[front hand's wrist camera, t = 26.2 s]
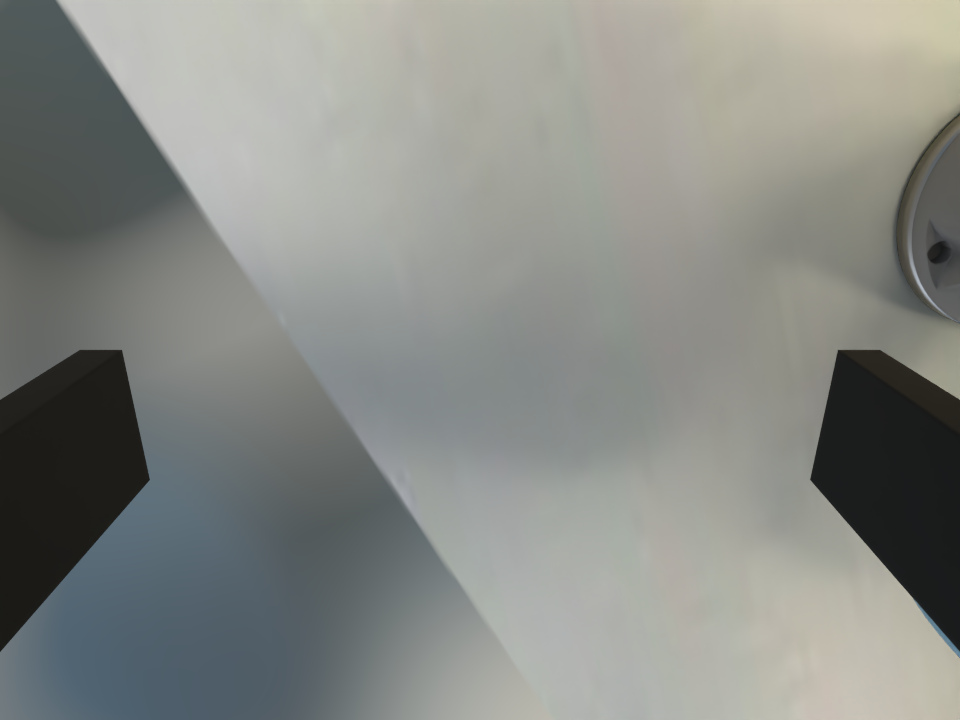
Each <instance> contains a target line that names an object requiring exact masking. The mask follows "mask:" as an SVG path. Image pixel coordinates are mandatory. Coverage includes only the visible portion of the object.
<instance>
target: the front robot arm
mask: <svg viewBox="0 0 960 720" xmlns="http://www.w3.org/2000/svg"><path fill="white" fill-rule="evenodd" d="M897 248H898V254H899V260H900V263H901V267H902V270H903V272H904V275H905V277H906V279H907V281H908V283H909V284H910V286H911V288H912V289H913V291H914V292H915V293H916V294H917V296H918V297H919V298H920V299H921V300H922V301H923V302H924V303H925V304H926V305H928V306H929V307H930V308H931V309H933V310H934V311H936V312H938V313H939V314H941V315H943V316H945V317H947V318H949V319H951V320H954V321H956V322H958V323H960V115H959V116H958V117H957V118H955V119H954V120H953V121H952V122H951V123H950V124H949V125H948V126H947V127H946V128H945V129H944V130H943V131H942V132H941V134H940V135H939V136H938V137H937V138H936V139H935V140H934V142H933V143H932V144H931V146H930V147H929V148H928V150H927V151H926V152H925V154H924V155H923V157H922V159H921V160H920V162H919V163H918V165H917V167H916V169H915V171H914V172H913V174H912V176H911V178H910V181H909V183H908V185H907V188H906V190H905V193H904V196H903V200H902V203H901V207H900V211H899V217H898V224H897ZM149 480H150V479H149V474H148V469H147V465H146V460H145V456H144V451H143V446H142V442H141V437H140V432H139V428H138V423H137V418H136V414H135V409H134V404H133V400H132V395H131V390H130V386H129V381H128V376H127V372H126V367H125V362H124V358H123V353H122V350H79V351H78V352H76V353H75V354H73V355H71V356H70V357H68V358H67V359H65V360H63V361H62V362H60V363H59V364H57V365H55V366H54V367H52V368H51V369H49V370H47V371H46V372H44V373H43V374H41V375H39V376H38V377H36V378H35V379H33V380H31V381H30V382H28V383H27V384H25V385H23V386H22V387H20V388H19V389H17V390H15V391H14V392H12V393H11V394H9V395H7V396H6V397H4V398H3V399H1V400H0V651H1V650H2V649H3V648H4V647H5V646H6V644H7V643H8V642H9V641H10V640H11V639H12V638H13V636H14V635H15V634H16V633H17V632H18V631H19V630H20V628H21V627H22V626H23V625H24V624H25V623H26V622H27V620H28V619H29V618H30V617H31V616H32V615H33V613H34V612H35V611H36V610H37V609H38V608H39V607H40V605H41V604H42V603H43V602H44V601H45V600H46V599H47V597H48V596H49V595H50V594H51V593H52V592H53V590H54V589H55V588H56V587H57V586H58V585H59V584H60V582H61V581H62V580H63V579H64V578H65V577H66V576H67V574H68V573H69V572H70V571H71V570H72V569H73V567H74V566H75V565H76V564H77V563H78V562H79V561H80V559H81V558H82V557H83V556H84V555H85V554H86V553H87V551H88V550H89V549H90V548H91V547H92V546H93V544H94V543H95V542H96V541H97V540H98V539H99V538H100V536H101V535H102V534H103V533H104V532H105V531H106V530H107V528H108V527H109V526H110V525H111V524H112V523H113V521H114V520H115V519H116V518H117V517H118V516H119V515H120V513H121V512H122V511H123V510H124V509H125V508H126V507H127V505H128V504H129V503H130V502H131V501H132V500H133V498H134V497H135V496H136V495H137V494H138V493H139V492H140V490H141V489H142V488H143V487H144V486H145V485H146V484H147V482H148V481H149ZM810 480H811V481H812V482H813V484H814V485H815V486H816V487H817V488H818V489H819V490H820V492H821V493H822V494H823V495H824V496H825V497H826V498H827V500H828V501H829V502H830V503H831V504H832V505H833V507H834V508H835V509H836V510H837V511H838V512H839V513H840V515H841V516H842V517H843V518H844V519H845V520H846V521H847V523H848V524H849V525H850V526H851V527H852V528H853V530H854V531H855V532H856V533H857V534H858V535H859V536H860V538H861V539H862V540H863V541H864V542H865V543H866V544H867V546H868V547H869V548H870V549H871V550H872V551H873V553H874V554H875V555H876V556H877V557H878V558H879V559H880V561H881V562H882V563H883V564H884V565H885V566H886V567H887V569H888V570H889V571H890V572H891V573H892V574H893V576H894V577H895V578H896V579H897V580H898V581H899V582H900V584H901V585H902V586H903V587H904V588H905V589H906V590H907V592H908V593H909V594H910V595H911V596H912V597H913V599H914V601H915V602H916V604H917V605H918V607H919V608H920V610H921V611H922V613H923V614H924V616H925V617H926V618H927V620H928V621H929V622H930V624H931V625H932V626H933V627H934V629H935V630H936V631H937V633H938V634H939V635H940V636H941V637H942V639H943V640H944V641H945V642H946V643H947V644H948V646H949V647H950V648H951V649H952V650H953V651H954V652H955V653H956V654H957V656H958V657H959V658H960V400H959V399H957V398H956V397H954V396H953V395H951V394H949V393H948V392H946V391H945V390H943V389H941V388H940V387H938V386H937V385H935V384H933V383H932V382H930V381H929V380H927V379H925V378H924V377H922V376H921V375H919V374H917V373H916V372H914V371H913V370H911V369H909V368H908V367H906V366H905V365H903V364H901V363H900V362H898V361H897V360H895V359H893V358H892V357H890V356H889V355H887V354H885V353H884V352H882V351H881V350H838V353H837V358H836V362H835V367H834V372H833V376H832V381H831V386H830V390H829V395H828V400H827V404H826V409H825V413H824V418H823V423H822V427H821V432H820V437H819V441H818V446H817V451H816V455H815V460H814V465H813V469H812V474H811V479H810Z"/></svg>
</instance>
